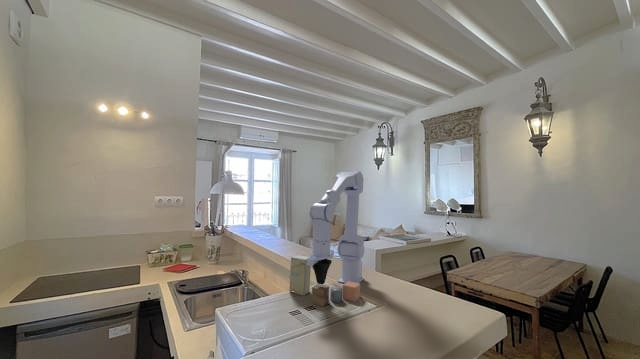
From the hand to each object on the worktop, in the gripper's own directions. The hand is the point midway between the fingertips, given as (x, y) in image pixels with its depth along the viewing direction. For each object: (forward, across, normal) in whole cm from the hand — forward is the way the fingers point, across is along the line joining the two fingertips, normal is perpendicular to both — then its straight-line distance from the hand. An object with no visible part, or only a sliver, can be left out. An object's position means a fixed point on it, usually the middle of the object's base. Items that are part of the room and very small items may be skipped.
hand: (320, 283), depth 80 cm
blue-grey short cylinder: (+6, +4, -4) cm, 8 cm away
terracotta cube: (+6, +9, -7) cm, 13 cm away
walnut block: (+6, 0, 0) cm, 6 cm away
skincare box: (+6, +4, +10) cm, 13 cm away
